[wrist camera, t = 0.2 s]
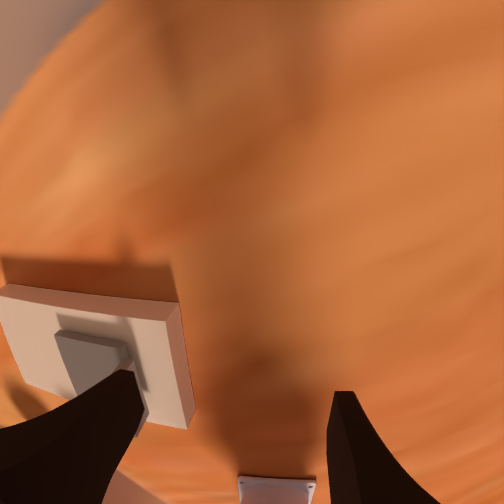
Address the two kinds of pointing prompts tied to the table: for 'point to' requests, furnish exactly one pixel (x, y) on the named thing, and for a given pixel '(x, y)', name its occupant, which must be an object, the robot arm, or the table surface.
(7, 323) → the socket plate
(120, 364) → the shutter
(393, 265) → the table surface
